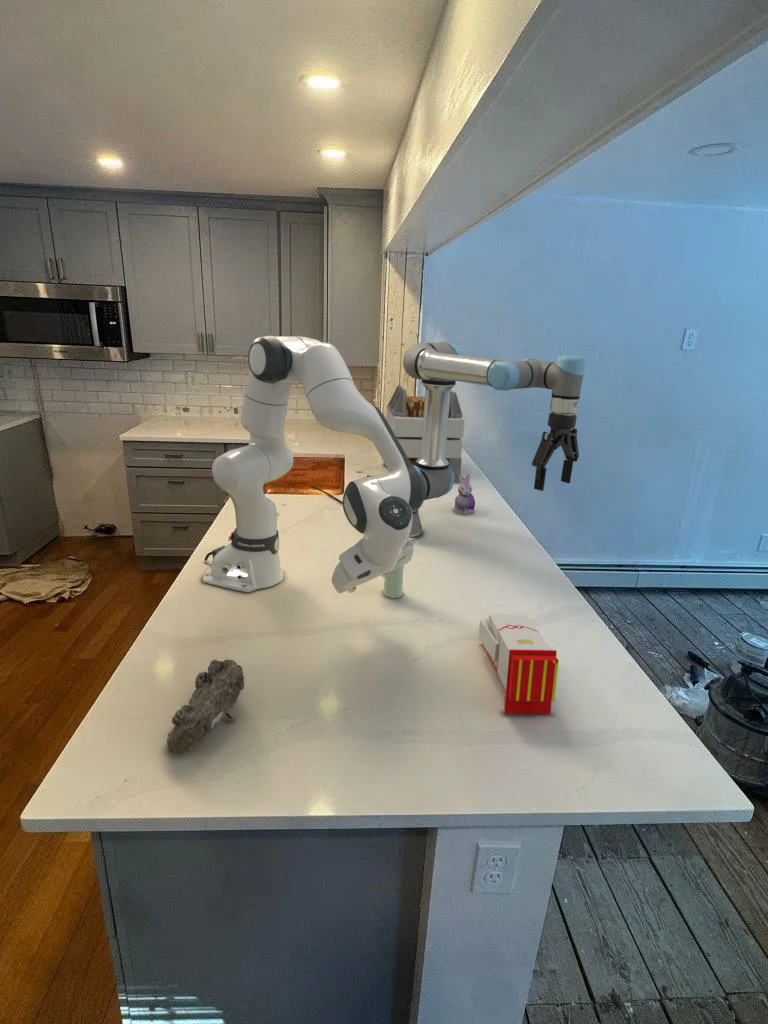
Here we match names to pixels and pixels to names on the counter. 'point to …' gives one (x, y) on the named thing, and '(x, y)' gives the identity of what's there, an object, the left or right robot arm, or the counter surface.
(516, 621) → the toy
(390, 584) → the pale green bottle
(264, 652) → the counter surface
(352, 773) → the counter surface
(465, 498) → the figurine
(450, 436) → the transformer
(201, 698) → the fossil
